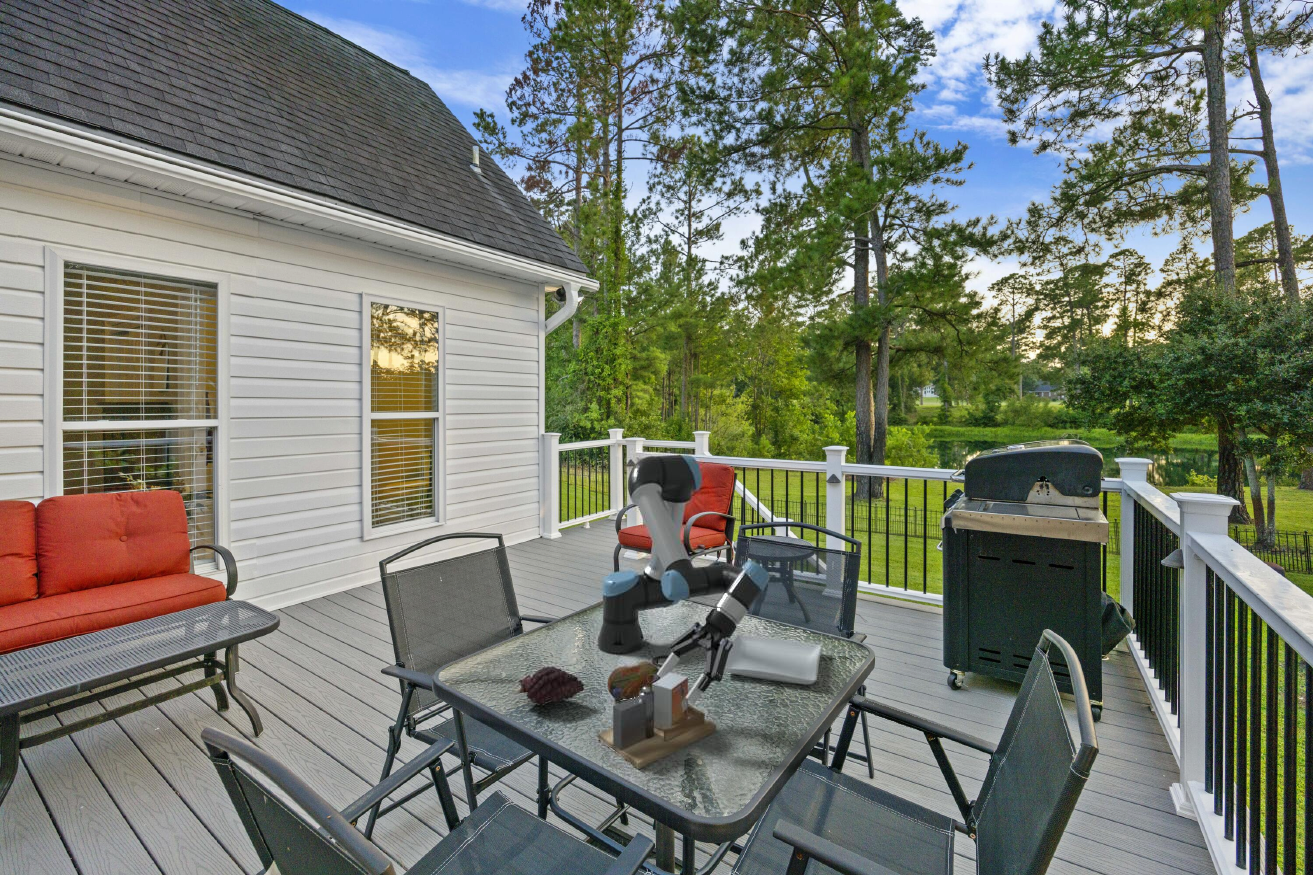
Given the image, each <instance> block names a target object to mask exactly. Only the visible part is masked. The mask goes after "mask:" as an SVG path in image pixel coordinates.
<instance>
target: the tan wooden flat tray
mask: <svg viewBox="0 0 1313 875" xmlns="http://www.w3.org/2000/svg"><path fill="white" fill-rule="evenodd" d="M705 714H706V713H705V712H703V711H701V710H699V709H698V708H695V707H694V706H692V705H690V704H688V719H687V720H684V721H682V722H680V723H678V724H676V725H673V726H671V727H669V728H667V729H665V730H662V729H659V728H656V727H654V736H653V737H652V738H649V739H646V740H644V741H641V742H639V743H637V744H635V745H633V746H630V747H628V748H626V749H624V750H622V751H621V750H620V749H618V748H617V747H615V746H614V745H613V727H611V728H609V729H607V730H605V731H602V732H600V733H597V739H598V738H599V739H601V740H602V741H603V742H604V743H606V744H607V745H608V746H609V747H611V748H612V749H613V750H615V751H616V752H617V753H618V754H620V755H621V756H622V757H623V758H624V759H626V760H627V761H628V762H630V763H631V764H632V765H633V766H632V765H631V764H630V763H629V764H630V765H631V766H632V767H634V766H635V767H636V768H637V770H640V769H642V767H643V768H645V767H646V766H648V765H651V764H653V763H655V762H656V761H658V760H661V759H663V758H664V757H667V756H669V755H670V754H673V753H675V752H677V751H679V750H680V749H683V748H685V747H687V746H689V745H691V744H693V743H695V742H697V741H699V740H701V739H702V738H705V737H708V736H709V735H711V734H713V733H715V732H717V724H715V723H714V722H712V721H710V720H708V719H706V715H705ZM623 758H622V759H623ZM624 759H623V760H624ZM626 760H625V761H626ZM627 761H626V762H627ZM628 762H627V763H628ZM644 766H645V767H644ZM635 767H634V768H635ZM636 768H635V769H636Z"/></svg>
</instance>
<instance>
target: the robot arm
mask: <svg viewBox="0 0 1313 875" xmlns="http://www.w3.org/2000/svg"><path fill="white" fill-rule="evenodd" d="M702 477H703V476H702V471H701V467H700V465H699V463H698V461H697V460H696V459H695V457H694V456H692V455H690V454H688V455H685V454H676V455H656V456H655V455H650V456H646V457H643V458H641V459H640V460H638V461H637V462H636V463H635V464H634V465H633V466H632V468H631V470H630V472H629V475H628V479H627V491H628V495H629V497H630V500H631V502H632V504H634V506H635V505H636V506H637V508H638V510H639V512H640V515H641V517H642V521H643V522H644V525H645V527H646V529H647V532H648V534H649V537H650V539H651V541H652V546H651V552H650V557H649V562H648V563H646V564H645V565H644V568H643V573H641V574H638V572H637V571H635V570H621V571H615V572H613V573H610V574H608V575H606V577H605V578H604V580H603V582H602V584H603V585H602V591H601V592H602V624H601V628H600V631H599V635H598V636H597V647H598V646H599V647H598V649H599V650H601V649H602V650H601V651H603V650H604V651H603V652H605V651H606V653H609V652H610V654H616V653H623V654H630V653H634V652H637V651H640V650H641V649H642V648H643V647H644V644H645V638H644V637H645V636H644V634H643V631H642V627H641V624H640V621H639V612H642V611H648V610H654V609H660V608H662V609H663V608H664V609H665V608H669V607H672V606H675V605H677V604H678V603H679V602H680V601H684V600H688V599H692V598H697V597H704V596H710V595H711V596H713V595H718V594H722V595H721V596H720V597H719V598H718V600H717V602H715V604H714V608H712V609H711V610H710V611H709V613H708V615H706V617H705V624H704V625H702V624H701V623H700V622H699V621H695V623H694V624H692V626H691V627H690V628H689V629H687V630H685V631H684V632H683V633H682V634H681V635H680V636H678V637H676V638H675V639H674V640H673V641H671V642H670V643H669V645H668V647H669V648H670V654H669V655H668V656H667V657H666V659H665V660H664V663H663V664H662V666H661V667H660V668H659V671H658V673H657V675H658V676H659V677H660V679H661V678H662V677H664V676H665V675H667V674H668V673H669V672H671V673H672V672H673V670H674V668H676V665H677V664H678V663H679V662H680V660H681V656H683V655H686V654H687V653H689V652H691V651H693V650H695V649H696V648H703V649H705V650H707V651H706V652H707V653H706V664H705V671H703V673H701V675H699V677H698V678H697V680H696V681H695V683H694V684H693V686H692V687H691V688H690V690H689V691H688V694H687V696H686V698H687V699H688V700H689V701H688V702H690V703H691V704H693V705H695V704H696V703H697V701H698V700H699V698H700V697H701V695H702V694H703V693H705V692H706V691H707V689H708V688H709V686H710V685H711V683H712V682H715V681H716V682H717V683H720V682H722V679H723V675H724V672H725V670H724V669H725V665H726V662H727V658H728V654H729V652H730V650H731V648H732V646H733V642H731V641H730V640H729V638H731V636H732V635H733V634H734V632H735V631H736V629H737V628H738V626H737V625H739V624H740V623H741V622H742V621H743V619H744V618H745V616H746V615H747V613H748V612H749V610H750V609H751V608H752V606H753V605H754V604H755V602H756V601H757V599H758V598H759V596H761V594H762V593H763V591H764V590H765V588H766V586H767V584H768V583H769V581H770V578H771V577H770V574H769V572H768V571H767V570H766V569H765V568H764V567H763V566H762V565H760V564H758V562H755V561H753V560H748V561H745V563H744V564H743V565H742V566H741V567H738V566H736V565H733V564H730V563H728V562H725V561H718V560H716V561H713V562H711V563H710V564H709V565H707V566H698V567H694V566H693V563H692V561H691V559H690V556H689V554H688V552H687V550H686V547H685V545H684V544H683V541H682V539H681V533H682V529H683V528H682V527H683V522H684V515H685V510H686V504H688V503H690V502H691V500H692V496H693V495H692V494H693V493H694V492H698V491H699V490H700V489H701V487H702V483H703V482H702V481H703V478H702Z"/></svg>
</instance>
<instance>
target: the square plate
mask: <svg viewBox="0 0 1313 875" xmlns="http://www.w3.org/2000/svg"><path fill="white" fill-rule="evenodd" d="M732 644H733V646H732V648H731V650H730V652H729V654H728V658H727V662H726V665H725V669H724V672H725V673H726V672H727V673H728V674H732V675H740V676H743V677H745V678H746V677H747V678H755V679H762V680H768V681H776V682H781V683H789V684H800V685H812V684H814V683H815V682H817V680H818V672H819V664H820V659H821V658H820V657H821V654H822V650H823V645H821V644H818V643H817V644H816V643H809V642H802V641H797V640H795V641H794V640H791V639H781V638H774V637H767V636H757V635H749V634H747V635H746V634H737V635H736V636H735V638H734V640H733V642H732Z"/></svg>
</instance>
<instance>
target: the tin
mask: <svg viewBox="0 0 1313 875" xmlns="http://www.w3.org/2000/svg"><path fill="white" fill-rule="evenodd" d="M659 670H660V668H659V667H658V666H657V665H655V664H653V663H652V662H649V661H640V662H637V663H633V664H627V665H623V666H619V667H616V668H615V669H614V670H613V671H611V672H610V675H609V676H608V679H607V686H606V687H607V691H608V692H609V694H610V696H612V698H613V699H615V700H616V701H618V702H621V701H620V700H623V699H629V700H630V698H634V697H637V696H639V691H640V690H643V687H644V686H650V690H652V684H653V683H655V682H656V681H658V680H659V679H661V678H660V677H659V676H658V675H657V673H658V671H659Z"/></svg>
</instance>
